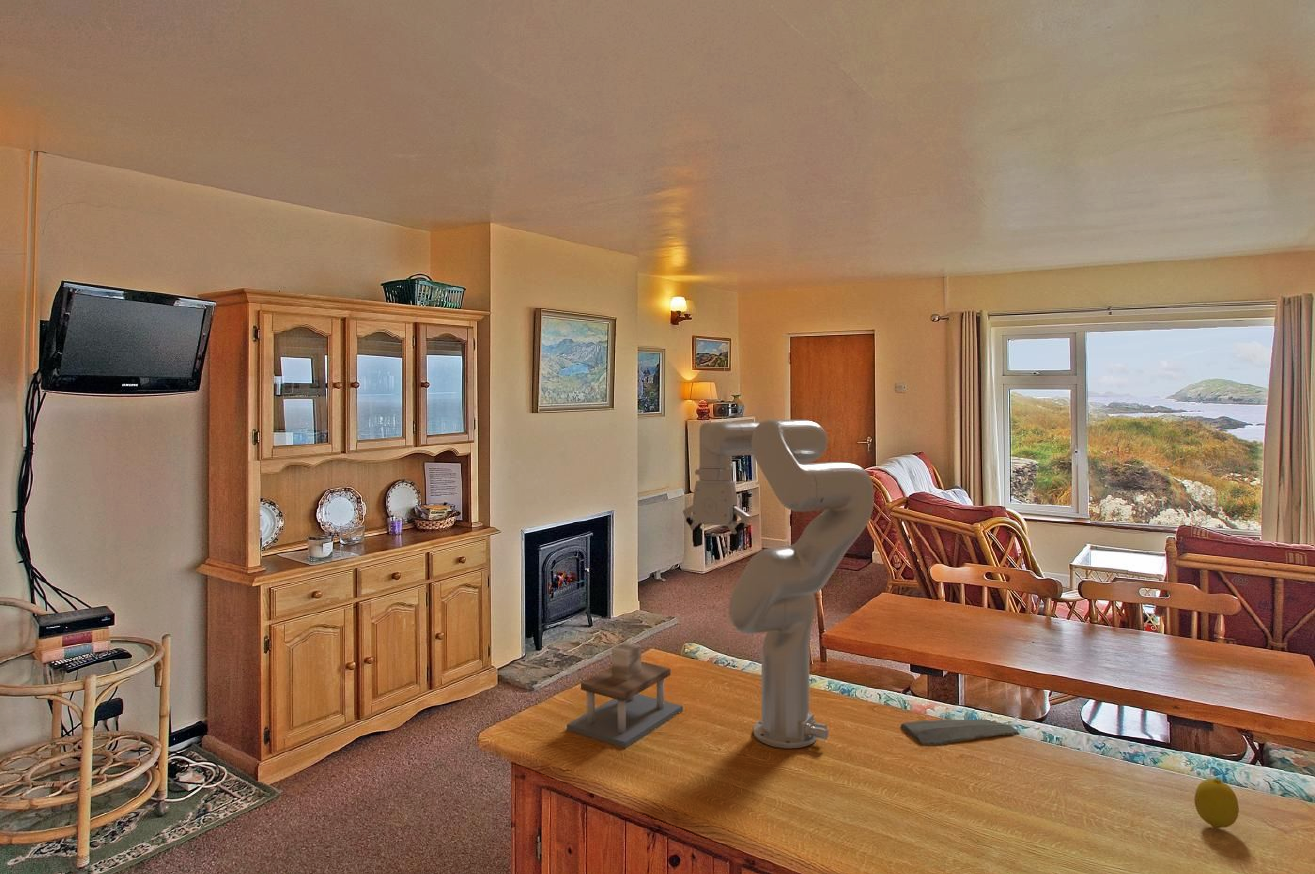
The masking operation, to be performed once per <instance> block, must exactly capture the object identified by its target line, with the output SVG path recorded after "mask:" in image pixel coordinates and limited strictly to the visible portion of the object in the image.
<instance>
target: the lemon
mask: <svg viewBox="0 0 1315 874" xmlns="http://www.w3.org/2000/svg"><path fill="white" fill-rule="evenodd" d="M1193 799H1194V807H1195V809H1196V812H1197V814H1198V815H1199V817H1200V818H1201V819H1202V820H1203V821H1204V822H1205V823H1207V825H1208V824H1209V825H1210V826H1211V827H1212V828H1213V829H1215V830H1220V829H1221V828H1229V827H1231V826H1233V824H1235V823H1236V821H1237V819H1238V817H1239V812H1240V811H1239V810H1240V809H1239V808H1240V807H1239V802H1238V801H1239V800H1238V798H1237V795H1236V793H1235V790H1233V789H1232V788H1231V787H1230V786H1229V785H1228V784H1227V783H1225V782H1223V781H1221V779H1219V778H1213V779H1212V778H1210V779H1205V780H1203V781H1202V782H1200V783H1199V784H1198V785H1197V787H1196V790H1195V792H1194V797H1193Z"/></svg>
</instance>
